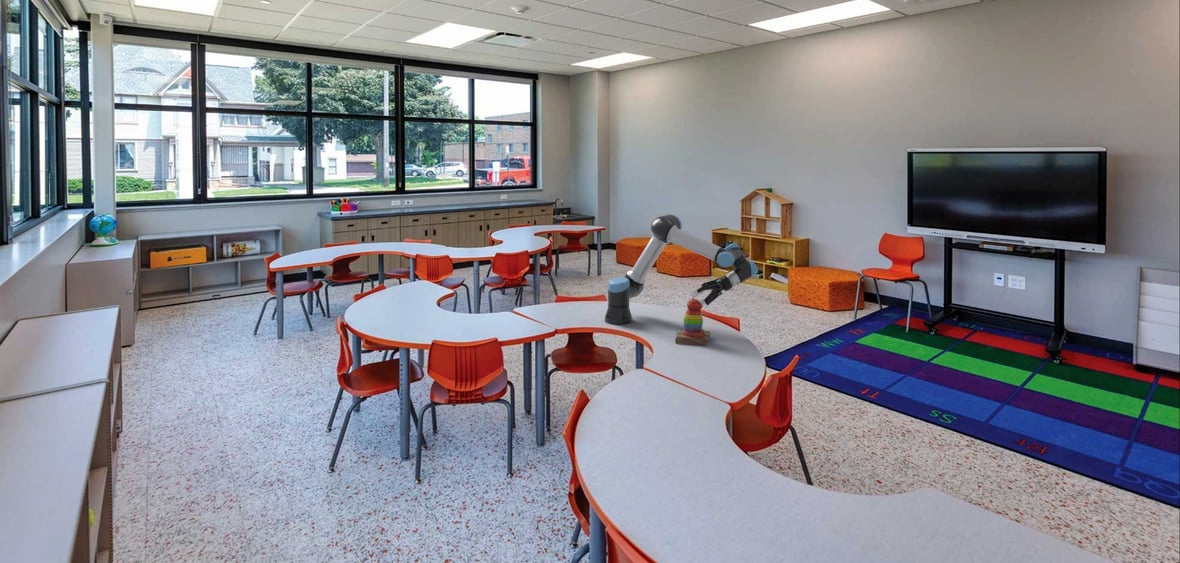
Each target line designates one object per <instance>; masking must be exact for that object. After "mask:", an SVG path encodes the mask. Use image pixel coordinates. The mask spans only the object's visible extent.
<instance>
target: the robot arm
mask: <svg viewBox="0 0 1180 563" xmlns="http://www.w3.org/2000/svg"><path fill="white" fill-rule="evenodd" d="M682 225H683V224H682V221H681V219H680V218H679V216H677V215H675V214H669V213H668V214H665V215H661V216H660V215H659V216H657V217H656V218H654V219H653V220H652V222H651V225H650V230H651V235H652V236H651V238H650V240H649V241H648V243H647V245H646V246H645V247H644V249H643V250H642V252H641V254H640V256H639V258H638V259H637V260H636V262H635V264H634V266H633V267H632V269H630V270H628V271H627V272H626V273H625V275H624V276H623V277H620V276H619V277H618V276H617V277H614V278H613V277H612V278H611V279H610V280H609V281H608V285H607V310H606V312H605V315H604V322H605V321H606V322H605V323H607V322H608V324H610V323H611V325H628V324H631V323H632V322H633V315H632V312H631V309H630V299H632V298H635V297H637V296H639V295H641V293H642V291H644V287H645V283H646V277H647V275H648V274H649V272H650V270H652V268H653V266H654V264H655V262H656V261H657V259H658V258H659V256H660V255H661V254H662V252H663V250H664V248H665V247H666V245H670V244H671V243H673V244H674V245H675V244H676V245H677V246H680V247H682V248H684V249H687V250H689V251H691V252H693V253H695V254H698V255H700V256H703V257H705V258H706V259H709V260H711V261H713V262H716V263H717V264H718V265H719V266H720V268H721V267H722V268H729V267H731V266H732V267H733V268H734V269H733V270H732V271H731V270H730V272H728V273H726V274H724V275H722V276H720V277H718V278H715V279H712V280H709V281H706V282H703V283H701V287H699V288H697V289H695V290H694V291H692V292H690V295H691V297H692V298H694V299H695V298H696V297H698V296H699V295H702V294H703V293H705V291H711V292H710V293H709V294H707V296H706V297H705V298H703V299H701V300H698V301H699V302H700V303H701V304H702V305H703V306H705V305H706V306H708V305H710V304H712V302H714V301H715V300H716V299H717V298H719V297H720V296H721V295H722V294H723V291H724V292H727V291H729V290H730V291H731V289H733V288H735V287H737V286H739V285H740V284H742V283H745V281H747V280H749V279H751V278H753V277H754V276H755V275H757V274H758V273H759V269H758V266H757V265H756V263H755V262H754V261H753V260H749V261H748V260H747V258H746V255H745V254H744V253H743V252H742V250H741V247H740V246H739V245H738V243H737V242H733V243H731V244H729V245H727V246H725V247H724V248H723V247H721V246H719V245H716V244H715V243H712V242H709V241H707V240H705V239H703V238H700V237H699V236H696V235H694V234H692V233H689V232H687V231H684V230H682V228H683V226H682Z"/></svg>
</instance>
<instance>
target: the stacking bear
mask: <svg viewBox="0 0 1180 563" xmlns="http://www.w3.org/2000/svg"><path fill="white" fill-rule="evenodd" d="M699 301H700V300H698V299H696V298H695V297H694V298H693V297H692V298H691V299H690V300H688V301H687V304H686V305H687V306H686V307H687V310H686V312H685V313H684V317H683V322H682V323H683V327H684V329H685V330H684V335H686V336H689V337H697V338H702V337H704V334H703V333H704V331H705V330H703V324H704V319H703V314H702V311H701V310H702V308H703V306H704V305H702V304H701V303H700V302H699Z"/></svg>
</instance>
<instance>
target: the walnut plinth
mask: <svg viewBox="0 0 1180 563" xmlns="http://www.w3.org/2000/svg"><path fill="white" fill-rule="evenodd" d="M684 330H685V329H683V328H682V329H679V331H678V333H676V336H675V344H678V343H679V345H691V346H702V345H704V347H707V346H708V344H709V341H710V339H709V338H711V331H710V330H709V331H707V330H704V333H703V334H704V337H702V338H697V337H689V336H686V335H684ZM705 345H706V346H705Z"/></svg>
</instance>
